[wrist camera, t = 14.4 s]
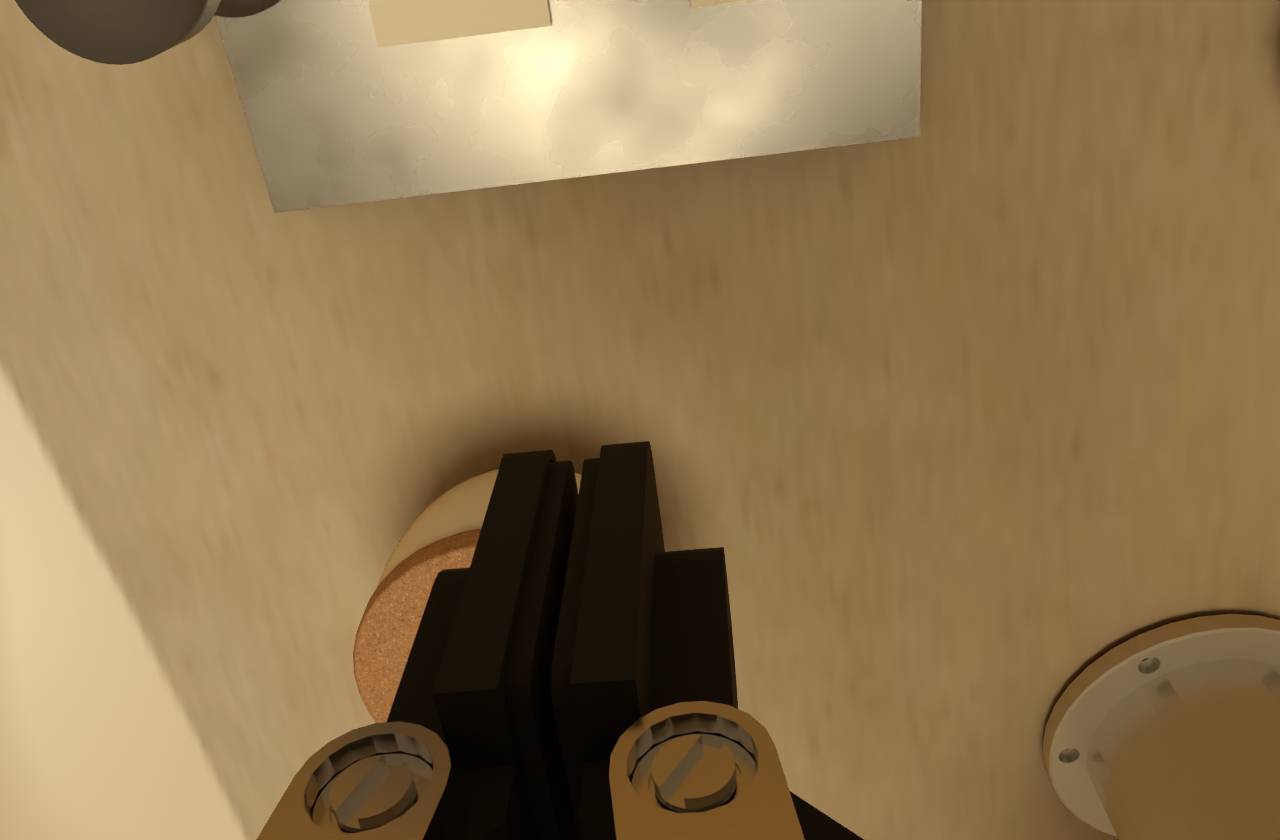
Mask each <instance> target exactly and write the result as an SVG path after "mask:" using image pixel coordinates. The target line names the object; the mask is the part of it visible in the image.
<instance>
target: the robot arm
mask: <svg viewBox="0 0 1280 840" xmlns="http://www.w3.org/2000/svg"><path fill="white" fill-rule="evenodd" d="M1043 755H1044V764H1045V767H1046V769H1047V772H1048V775H1049V777H1050V780H1051V783H1052V785H1053V788H1054V790H1055V791H1056V793H1057V795H1058V796H1059V798H1060V800H1061V801H1062V803H1063V805H1064V806H1065V807H1066V808H1067V809H1068V810H1070V811H1071V812H1072V813H1073V814H1074V815H1075V816H1076V817H1077V818H1078V819H1079V820H1081V821H1083V822H1084V823H1086V824H1088V825H1089V826H1091V827H1093V828H1094V829H1096V830H1099V831H1101V832H1104V833H1106V834H1109V835H1111V836H1115V837H1118V840H1280V620H1277V619H1273V618H1268V617H1264V616H1258V615H1241V614H1224V615H1212V616H1201V617H1196V618H1191V619H1187V620H1182V621H1178V622H1174V623H1169V624H1166V625H1163V626H1161V627H1158V628H1155V629H1153V630H1150V631H1147V632H1144V633H1142V634H1139V635H1137V636H1135V637H1133V638H1131V639H1129V640H1128V641H1126V642H1124V643H1122V644H1120V645H1118V646H1116V647H1114V648H1113V649H1111V650H1110V651H1108V652H1107V653H1105V654H1104V655H1103V656H1101V657H1100V658H1099V659H1097V660H1096V661H1094V662H1093V663H1092V664H1090V665H1089V666H1088V667H1087V668H1086V669H1085V670H1084V671H1083V672H1082V673H1081V674H1080V675H1079V676H1078V677H1077V678H1076V679H1075V680H1074V681H1073V682H1072V683H1071V684H1070V685H1069V686H1068V687H1067V689H1066V690H1065V691H1064V693H1063V694H1062V696H1061V697H1060V699H1059V700H1058V701H1057V703H1056V704H1055V706H1054V708H1053V710H1052V713H1051V715H1050V717H1049V720H1048V722H1047V724H1046V728H1045V734H1044V740H1043ZM256 840H864V839H862V838H860V837H859V836H857V835H856V834H854V833H853V832H851V831H850V830H848V829H847V828H845V827H844V826H842V825H841V824H839V823H838V822H836V821H834V820H833V819H831V818H830V817H828V816H827V815H825V814H824V813H822V812H821V811H819V810H818V809H816V808H815V807H813V806H812V805H810V804H808V803H807V802H805V801H804V800H802V799H801V798H799V797H798V796H796V795H795V794H793V793H792V792H790V791H789V788H788V785H787V782H786V779H785V775H784V772H783V769H782V766H781V763H780V760H779V757H778V753H777V750H776V747H775V745H774V743H773V741H772V739H771V737H770V736H769V734H768V732H767V730H766V728H765V727H764V726H762V725H761V724H760V723H759V722H758V721H757V720H755V719H754V718H753V717H752V716H751V715H750V714H748V713H746V712H743V711H741V710H739V709H738V701H737V687H736V673H735V660H734V648H733V636H732V625H731V614H730V604H729V594H728V584H727V574H726V564H725V555H724V548H723V547H720V548H708V549H695V550H683V551H670V552H665V549H664V542H663V534H662V526H661V519H660V511H659V503H658V496H657V488H656V480H655V473H654V465H653V458H652V451H651V446H650V443H649V441H647V442H635V443H624V444H613V445H603V446H602V447H601V452H600V458H595V459H585V460H584V463H583V470H582V476H581V482H580V489H579V495H578V489H577V483H576V477H575V472H574V467H573V464H572V462H571V461H561V462H556V458H555V455H554V453H553V451H552V450H545V451H534V452H523V453H511V454H504V456H503V458H502V460H501V464H500V467H499V471H498V474H497V477H496V481H495V484H494V487H493V491H492V494H491V498H490V501H489V504H488V508H487V511H486V514H485V518H484V521H483V525H482V528H481V531H480V535H479V538H478V541H477V545H476V548H475V552H474V555H473V558H472V562H471V565H470V568H457V569H445V570H442V571H440V572H439V573H438V575H437V577H436V579H435V581H434V583H433V586H432V589H431V592H430V595H429V598H428V601H427V604H426V607H425V610H424V613H423V616H422V619H421V622H420V625H419V628H418V631H417V634H416V636H415V639H414V642H413V645H412V648H411V651H410V654H409V657H408V660H407V663H406V666H405V669H404V672H403V675H402V678H401V681H400V684H399V687H398V689H397V692H396V695H395V698H394V701H393V704H392V707H391V710H390V713H389V716H388V719H387V722H384V723H375V724H372V725H368V726H365V727H361V728H358V729H354V730H352V731H350V732H348V733H346V734H344V735H342V736H340V737H338V738H336V739H334V740H332V741H330V742H329V743H327V744H326V745H325V746H324V747H322V748H321V749H320V750H318V751H317V752H316V753H315V754H313V755H312V756H311V757H310V758H309V759H308V760H307V761H306V763H305V764H304V765H303V766H302V768H301V769H300V770H299V771H298V773H297V774H296V775H295V776H294V778H293V780H292V781H291V783H290V785H289V786H288V788H287V790H286V791H285V793H284V795H283V796H282V798H281V800H280V801H279V803H278V805H277V806H276V808H275V810H274V811H273V813H272V815H271V816H270V818H269V820H268V821H267V823H266V825H265V826H264V828H263V830H262V831H261V833H260V835H259V836H258V838H257V839H256Z"/></svg>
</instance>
